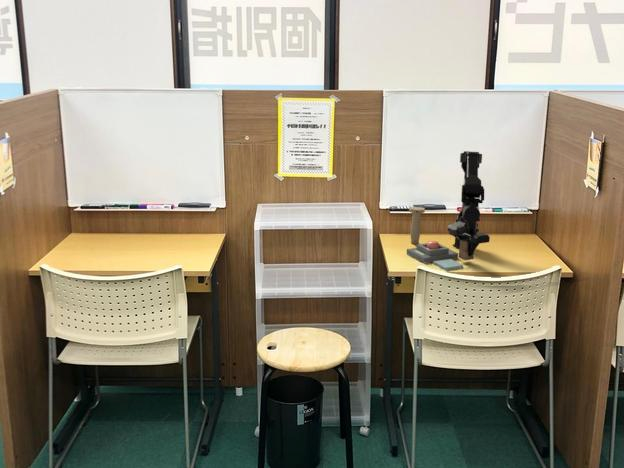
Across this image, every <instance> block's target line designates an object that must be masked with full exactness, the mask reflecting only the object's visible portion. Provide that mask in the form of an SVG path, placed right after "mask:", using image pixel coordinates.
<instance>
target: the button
mask: <svg viewBox="0 0 624 468" xmlns="http://www.w3.org/2000/svg"><path fill="white" fill-rule="evenodd" d="M426 243H427V248H429V249H438V245H439V244H440V243H439V241H436V240H428V241H427V242H426Z"/></svg>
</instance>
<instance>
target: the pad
mask: <svg viewBox="0 0 624 468" xmlns="http://www.w3.org/2000/svg"><path fill="white" fill-rule="evenodd" d="M432 264H433V265H435V266H436V267H438V268H440V269H442V270H444V271H450V270H451V271H452V270H458V269H463V268H464V265H463V264H462V263H459V262H458V261H456V260H455V259H446V260H439V261H433V262H432Z"/></svg>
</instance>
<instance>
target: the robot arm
mask: <svg viewBox="0 0 624 468" xmlns="http://www.w3.org/2000/svg"><path fill="white" fill-rule="evenodd" d="M459 155H460V156H459V163H461V164H460V165H461V166H460V167H461V169H462V171H463V173H464V177H463V184H462V185H461V193H460V194H461V200H460V202H461V210H460V211H459V212H458V214H457V218H456V219H455V220H454V221H455V222H453V223H449V225H447V232H448V234H449V235H450V236H452V237H454V244H452V246H453V247H455V248H457V249H459V247H460V240H464V239H469V240H466V241H467V242H468V256H472V254H473V252H474V253H475V251H476V249H477V248H478V246H479V245H481V244H487V243H490V239H491V236H490V235H489V234H487V233H485V232H479V223H478V222H480V217H481V212H480V208H479V207H480V206H479V205H480V204H483V203H484V201H485V187H484V185H482V180H481V179H480V178H479V176H478V175H479V168H480V164H482V163H483V161H482V160H483V154H482V153H480V152H479V151H471V150H469V151H468V150H467V151H466V150H464V151H463V152H461V153H460V154H459Z"/></svg>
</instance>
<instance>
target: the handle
mask: <svg viewBox="0 0 624 468" xmlns="http://www.w3.org/2000/svg"><path fill="white" fill-rule="evenodd" d="M408 211H409V212H410V213H411V214H412V217H411V226H410V243H411V244H414V245H417V244H420V243H419V242H420V238H421V222H422V221H421V216H422V214H424V213H426V212H425V211H426V209H425V207H419V206H410V207H409V208H408Z"/></svg>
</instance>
